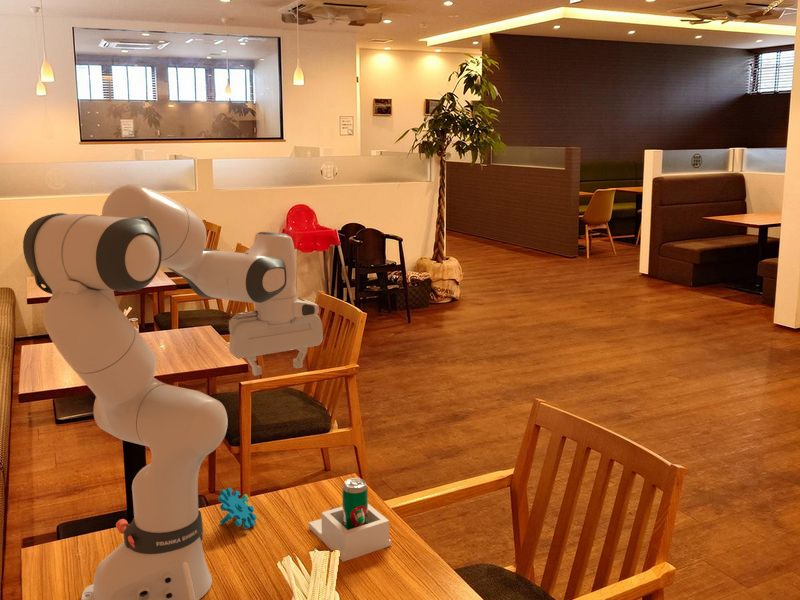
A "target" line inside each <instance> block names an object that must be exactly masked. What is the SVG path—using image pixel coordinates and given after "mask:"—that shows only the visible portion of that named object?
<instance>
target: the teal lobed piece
mask: <svg viewBox="0 0 800 600" xmlns="http://www.w3.org/2000/svg"><path fill="white" fill-rule="evenodd" d="M219 494H220V495H219V496H218V498H217V501H218V502H220V503H221V504H220V506H219V507H220V510H221V511H223V512H224V511H225V512H228V513H227V514H226V515H225V516H224V517H223V518H222V519H220V520H219V523H220V524H221V525H222V526H224V525H225V524H226V523H227V522H228V521H231V520H233V518H234V519H235V521H234V525H235V526H236V527H240V526H241V525H242V528H243V529H245V530H248V529H249V528H252V527H254V526H255V525H256V524H257V523H256V522H255V520H257V519H258V518H257V516H258V515H256V514H255V513H253V512H254V511H255V508H254V506H253V505H249V496H248V494H243V495H242V496H241V492H240V491H238V490H235V491H234V492H233V488H231V487H227V488H226V489H222V490H220V491H219ZM240 496H241V497H240ZM239 497H240V498H239ZM242 522H243V523H242Z"/></svg>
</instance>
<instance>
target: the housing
mask: <svg viewBox="0 0 800 600" xmlns="http://www.w3.org/2000/svg"><path fill="white" fill-rule="evenodd" d="M320 513H321V515H320V516H321V518H319V519H315V520H313V521H309V522H308V528H309V529H310V530H311V531H312V532H313V534H314V535H316V537H318V538H319V539H320V540H321V541H322V542H323V544H325V545H326V546H327V548H329V549H330V551H332V550H339V551H340V558H339V560H341V561H342V563H344V562H347V561H349V560H353V559H356V558H359V557H362V556H364V555H367V554H370V553H371V554H372V553H374V552H376V551H379V550H382V549H384V548H388V547H391V546H392V540H391V539H390V520H389V519H388V518H386V516H384V515H383V514H381V513H380V512H379V511H378V510H377V509H376V508H374V507H373V506H372V505H371V504H369V503H368V524H365V525H362V526H359V527H356V528H353V529H350V530H347V529H346V528H345V527H344V526H343V508H342V506H337V507H336V506H335V507H332V508H330V509H328V510H326V511H323V512H320Z"/></svg>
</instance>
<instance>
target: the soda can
mask: <svg viewBox="0 0 800 600" xmlns="http://www.w3.org/2000/svg"><path fill="white" fill-rule="evenodd" d="M341 490H342V493H341V494H342V499H341V500H342V501H341V503H342V506H341V507H342V508H343V526H344V527H345V528H346V529H347V530H350V529H353V528H356V527H359V526H362V525H365V524H368V504H369V503H368V501H369V497H368V496H369V495H368V494H369V493H368V492H369V491H368V490H369V489H368V485H367V483H366V480H364V479H362V478H359V477H354V478H353V477H352V478H349V479H348V478H347V479H346V480H345V481H344V483H343V486H342V489H341Z"/></svg>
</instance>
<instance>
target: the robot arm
mask: <svg viewBox="0 0 800 600" xmlns="http://www.w3.org/2000/svg"><path fill="white" fill-rule="evenodd" d="M206 245H207V230H206V225H205V223H204V221H203V220H202V218H200V217H199V216H198V215H197V213H195V212H194V211H193V210H191V209H190V208H189V207H187V206H186V205H184V204H182V203H181V202H179V201H177V200H176V199H174V198H172V197H170V196H169V195H166V194H164V193H162V192H160V191H158V190H154V189H153V188H152V189H151V188H149V187H145V186H142V185H139V184H132V183H131V184H125V185H122V186H119V187H118V188H116V189H114V190H113V191H112V192H111V193H110V194H109V195H108V197H106V200H105V202H104V203H103V206H102V210H101V214H100V215H97V214H90V213H89V214H87V213H72V214H71V213H64V212H57V213H52V214H46V215H44V216H41V217H39V218H37V219H35V220H34V221H33V222H31V223H30V224H29V225H28V226H27V229H26V230H25V233H24V236H23V242H22V247H23V248H22V249H23V256H24V260H25V262H26V265H27V267H28V268H29V271H31V273H32V275H33V276H34V280H35V284H36V286H37V287H38V288H39V289H40V290H42V291H43V292H45V293H46V294H47V293H48V294H50V295H52V296H51V298H50V299H49V300H47V301H48V302H47V303H46V304H45V307H44V310H43V314H42V322H43V327H44V328H45V330H46V332H47V334H48V335H49V338H50V340H51V342H52V343H53V344H54V346H55V347H56V349H57V350H58V352H59V353H60V355H61V357H62V358H63V359H64V360H65V362H66V363H67V364H68V365H69V366H70V367H71V369H72V370H73V371H74V372H75V373H76V374H77V375H78V377H79V378H80V379H81V380H82V381H83V382H84V384H85V385H86V386H87V387H88V388H89V389H90V390H91V392H92V393H93V394H94V396H95V399H94V403H93V418H94V421H95V423H96V425H97V426H98V428H100V429H101V430H102V431H104V432H106V433H108V434H109V435H111V436H113V437H115V438H117V439H119V440H121V441H125V442H129V443H133V444H137V445H140V446H145V447H148V448H149V450H150V453H151V454H150V455H151V460H150V461H151V462H150V463H149V464H147V465H145V466H143V467H142V468H140V470H139V471H138V472H137V473H136V475H135V477H133V480H132V484H131V491H132V493H131V494H132V506H133V516H134V517H133V519H132V520H131V522H130V523H128V521H127V520H126V519H125V518H121V519H119V520H118V521H117V522H116V523H115V527H116V529H117V531H118V532H119V534H122V535H123V542H122V543H120V544H119V545H118V546H117V547H116V548H115V549H114V550H113V551H112V552H110V553H109V554H108V555H107V556H106V557H105V558H104V559H103V560H101V561H100V562H99V563H98V564H97V566H96V568H95V569H96V570H95V573H94V576H93V577H94V578H93V583H92V584H90V585H87V586H86V587H85V588H84V590H83V591H82V594H81V597H80V600H201V598H203V597H204V596H205V595H206V594H207V593H208V591H209V590H210V588H211V587H212V583H213V578H212V575H211V572H210V570H209V568H208V564H207V562H206V561H207V560H206V557H205V554H204V553H205V552H204V547H203V542H202V541H203V535H204V534H203V533H204V524H203V523H204V522H203V516H202V512H201V511H200V509H199V486H198V485H199V472H200V468H201V465H202V463H203V461H204V459H206V457H207V456H208V455H210V454H211V453H213V452H214V451H215V450H216V449H217V448H218V447H219V446H220V445H221V444H222V442H223V441H224V439H225V437H226V434H227V429H228V425H229V424H228V422H229V421H228V414H227V410H226V408H225V406H224V405H223V403H222V402H221V401H220V400H218V399H215V398H214V397H211V396H210V395H208V394H206V393H204V392H201V391H200V390H195V389H190V388H186V387H180V386H178V385H177V386H176V385H170V384H167V383H164V382H162V381H161V380H158V379H157V378H155V375H156V370H157V365H158V363H157V362H158V361H157V357H156V355H155V354H156V353H155V352H154V351H153V349H152V348H151V347H150V345H149V344H148V343H147V341H146V340H145V339H144V337H143V336H142V335H141V333H140V332H139V330H138V329H136V327H135V325H134V324H133V322H131V321H130V319H129V318H128V316H127V315H125V313H124V312H123V311H122V309H120V308H119V305H118V301H117V300H116V295H115V292H121V293H122V292H123V293H125V292H133V291H134V292H135V291H139V290H141V289H144V288H146V287H148V285H150V283H152V282H153V280H154V279H155V277H156V275H157V273H158V271H159V269H160V267H163V268H167V270H170V271H171V272H173V273H175V274H177V275H178V276H180V277H181V278H182V279H184V281H186V282H187V283H188V285H189V287H190V288H191V289H192V291H193V292H194V293H195V294H196V295H198V296H199V297H201V298H203V299H218V300H219V299H220V300H227V301H234V302H243V303H249V304H251V303H252V304H254V310H252V311H247V312H238V313H235V314H234V315H233V316H232V317H230V319H229V321H228V332H229V340H228V341H229V343H228V344H229V346H228V348H229V349H228V350H229V353H230V354H231V355H232V356H233V357H235V358H236V359H239V360H240V359H241V360H242V359H245V358H246V360H247V362H248V364H249V365H250V366H251V370H252V371H251V373H252V375H253V376H255V377H256V376H262V375H263V372H262V371H263V368H262V366H260V365H259V364H256V362H255V361H257V359H258V358H257V356H263V355H270V354H275V353H276V354H277V353H280V352H287V351H292V350H293V351H294V350H297V351H299V352H298V354H297V356H296V358H293V359H292V362H293V368H294V369H300V368H303V365H304V364H303V363H304V362H303V361H304V359H305V358H306V356H307V353H308V348H311V347H316V346H320V345H321V344H322V342H323V339H324V333H323V324H322V319H321V317H320V316H319V315H318V314H319V313H320V306H319V305H318V304H317V303H315V302H313V301H310V300H307V299H305V298H300V297H298V292H297V288H296V283H295V281H296V277H297V259H296V258H297V257H296V249H295V244H294V241H293V239H292V236H291V235H288V234H286V233H281V232H272V231H271V232H269V231H259V232H257V233H255V236H254V240H253V244H252V245H251V246H250V247H249V249H247V250H246V251H245V252H235V251H226V250H220V249H214V248H206ZM42 285H43V286H42ZM44 286H45V287H44ZM114 291H115V292H114Z"/></svg>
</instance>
